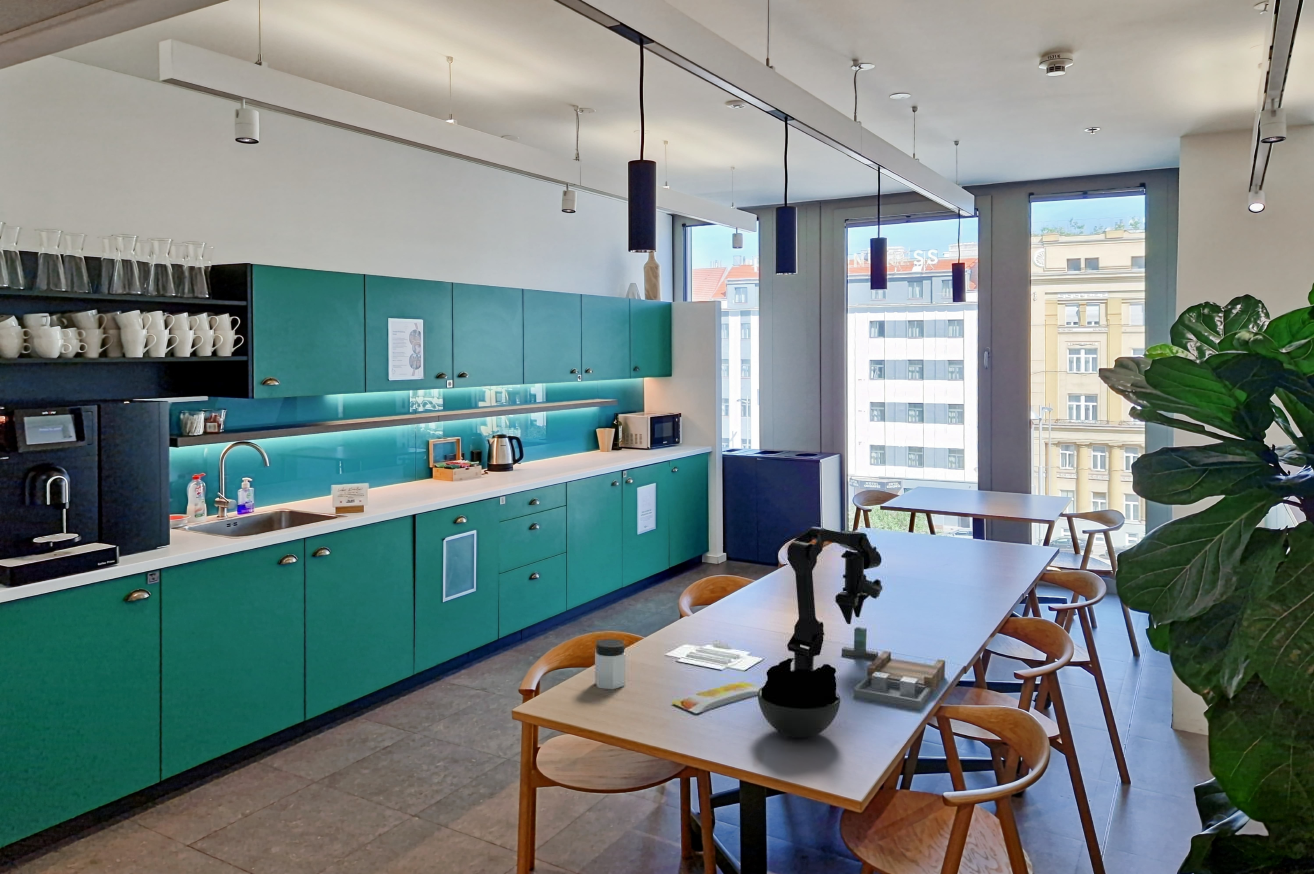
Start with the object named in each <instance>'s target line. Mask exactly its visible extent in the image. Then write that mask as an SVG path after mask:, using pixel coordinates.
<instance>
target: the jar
mask: <svg viewBox="0 0 1314 874" xmlns="http://www.w3.org/2000/svg"><path fill="white" fill-rule="evenodd" d="M625 648H626V647H625V642H624V641H623V640H620V639H616V638H615V639H614V638H608V639H600V640H598V641H596V643H595V651H594V683H595V685H596V686H597V688H598V689H603V690H604V689H605V690H616V689H619V688H623V687H625V686H626V653H625Z"/></svg>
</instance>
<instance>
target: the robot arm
mask: <svg viewBox="0 0 1314 874" xmlns="http://www.w3.org/2000/svg"><path fill="white" fill-rule="evenodd" d="M813 541H815V542H814V544H813V543H812V542H813ZM826 542H827V543H833V544H837V545H839V546H840V547H842V548H844V549H846V550H845V551H844V552H843V553H842V554H841V555H840V557H841V558H842V559H845V561H844V566H845V567H844V573H843V574H842V579H844V587H842V591H840V592H839V593H837V594H836V595H835V599H834V601H835V603H836V604H837V606H838V608H839V609H840V611H841V613H842V617H843V618H844V620H845V623H846V625H847V624H848V625H851V623H852V620H853V619H852V618H853V614H854V616H855V618H857V619H858V618H860V616H861V612H862V609H863V605H864V603H865V600H867V599H868V598H869V597H870V598H872V599H877V598H879V597H880V595H881V592H882V591H883V585H882V581H881V580H880V579H878V578H876V579H875V580H873V581H872V580H868V579H867V575H866V574H865V572H864V571H865V570H869V569H875V568H878V567H879V566H880V565H881V563H882V556H881V554H880V553H879V551H878V550H877V546H874V545H873V546H872V544H871V542H870V541H869V538H868V534H866V533H865V532H859V531H855V530H848V529H847V530H841V531H838V530H837V531H835V530H832V529H831V530H830V529H827V528H824V527H819V526H811V527H810V528H809V529H808V530H807V531H806V532H804V533H802V534H800V535H798V536H797V537H795V538H794V540H793V541H792V542H790V544H789V546H788V547H787V551H786V554H787V558H788V563H789V565H790V566H791V568H792V570H793V571H794V574H795V584H796V585H795V587H796V597H797V598H796V599H797V610H798V613H797V614H798V618H797V621H796V623H794V626H793V627H794V628H793V631H794V632H793V634H792V636H791V638H790V640H789V641H788V643H787V644H786V647H787V650H788V652H792V653H793V656H794V657H793V658H794V660H793V669H791V671H795V670H797V669H806V670H810V671H814V670H815V669H814V662H815V661H814V659H815V658H814V657H816V656H820V655H821V651H822V647H823V644H824V636H825V631H824V622H823V621H821V620H818V619H817V616H816V605H815V603H816V602H815V591H814V589H815V588H814V577H813V570H814V569H815V567H816V565H817V563H818V556H819V555H820V554H821V552H823V547H824V543H826ZM847 549H848V550H847ZM802 646H803V647H802ZM806 647H807V648H806Z"/></svg>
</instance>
